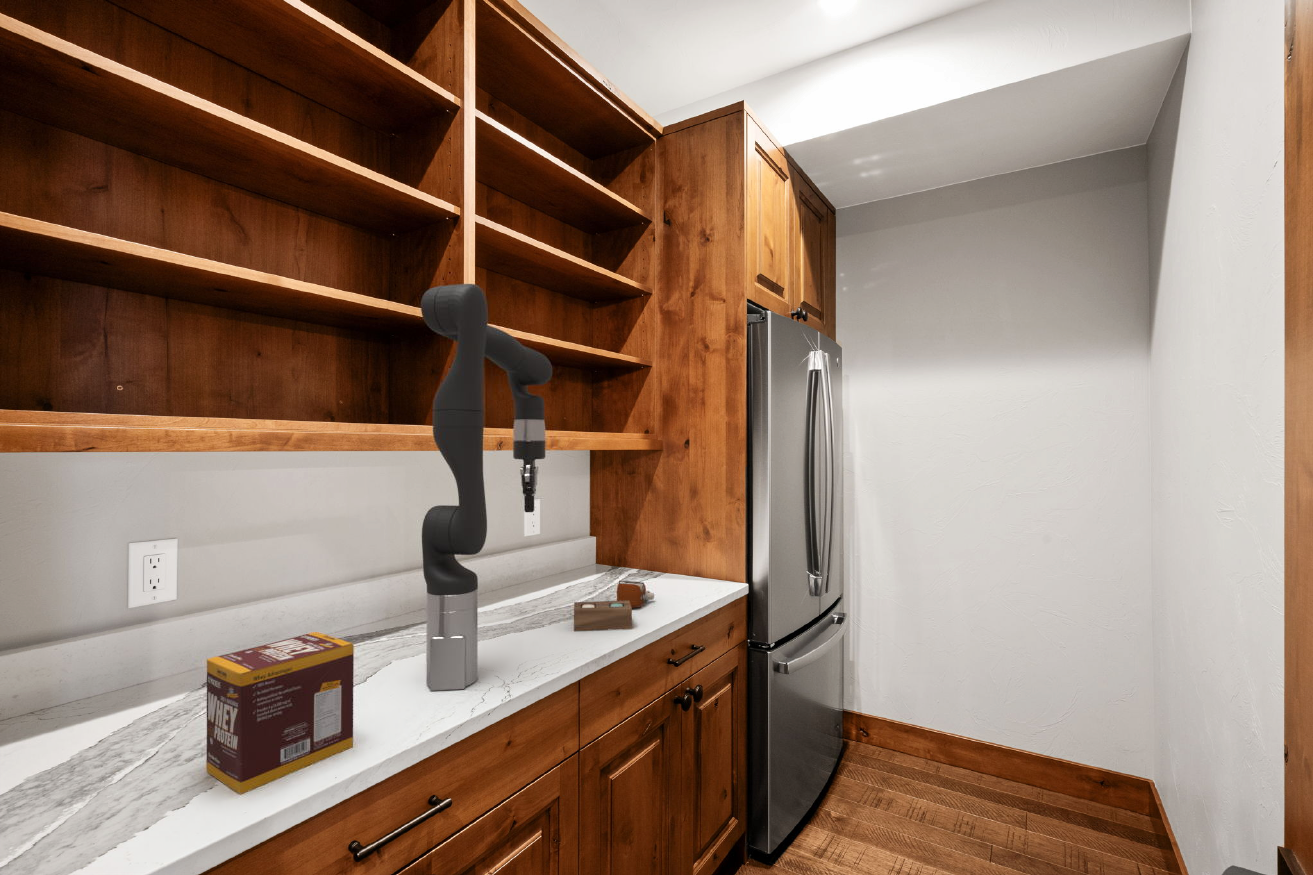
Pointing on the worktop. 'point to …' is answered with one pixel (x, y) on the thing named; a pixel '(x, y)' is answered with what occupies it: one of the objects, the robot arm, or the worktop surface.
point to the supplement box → (278, 708)
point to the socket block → (602, 616)
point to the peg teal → (616, 605)
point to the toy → (633, 593)
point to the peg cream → (588, 606)
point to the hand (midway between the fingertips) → (529, 511)
